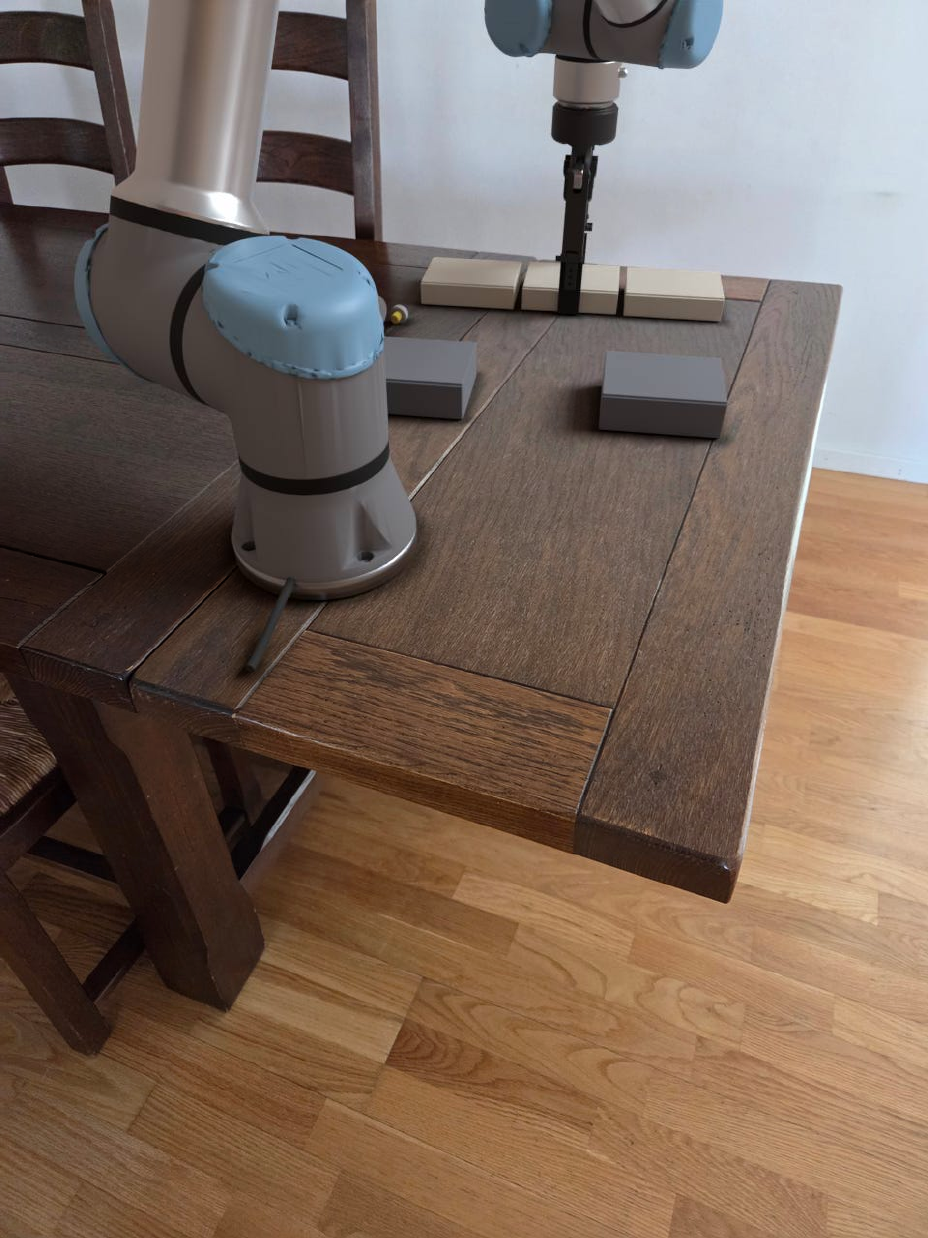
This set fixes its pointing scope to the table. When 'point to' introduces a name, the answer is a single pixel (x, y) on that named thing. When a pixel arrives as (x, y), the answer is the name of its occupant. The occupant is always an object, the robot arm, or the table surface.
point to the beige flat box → (594, 293)
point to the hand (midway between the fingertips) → (570, 297)
